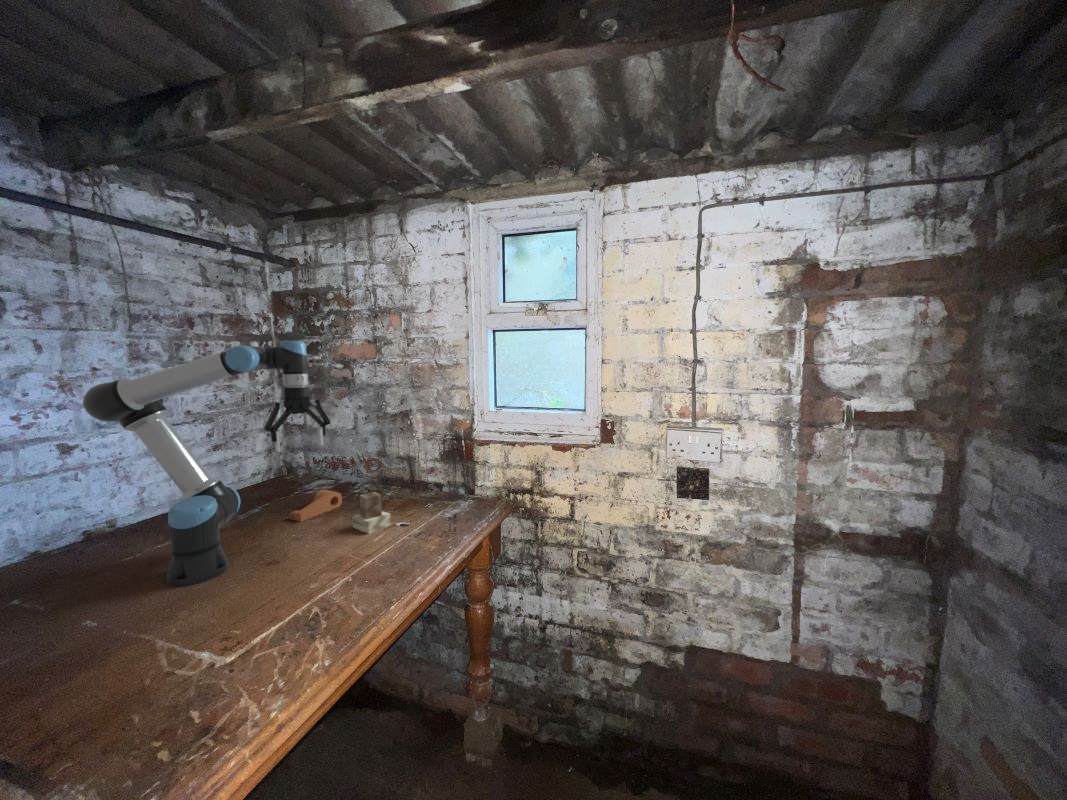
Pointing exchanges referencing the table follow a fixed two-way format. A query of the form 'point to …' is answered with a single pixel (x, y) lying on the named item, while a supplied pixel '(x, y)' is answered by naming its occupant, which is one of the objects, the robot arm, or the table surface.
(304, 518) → the crank
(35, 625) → the table surface
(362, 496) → the walnut block
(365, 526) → the pale square block
